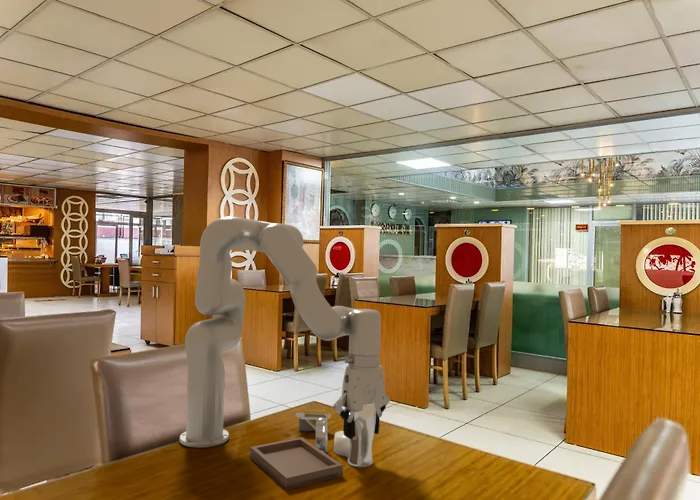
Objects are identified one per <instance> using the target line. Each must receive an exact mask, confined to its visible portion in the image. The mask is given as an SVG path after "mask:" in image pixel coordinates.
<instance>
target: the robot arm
mask: <svg viewBox="0 0 700 500" xmlns="http://www.w3.org/2000/svg"><path fill="white" fill-rule="evenodd" d="M303 246H304V237H303V234H302V233H301V230H299V229H298V228H297V227H295V226H294V225H291V224H285V223H281V222H280V223H277V222H276V223H274V222H268V221H262V220H255V219H249V218H243V217H240V216H223V217H220V218H217V219H215V220H213V221H212V222H210V223H209V224H208V225H207V226H206V227H205V228H204V230H203V232H202V234H201V238H200V242H199V259H198V270H197V276H196V277H197V278H196V285H195V294H194V303H195V308H196V310H197V311H198V312H199V313H200V314H202V315H206V316H212V318H208V319H204V320H199V321H198V322H194V324H192V325H191V326H190V327H189V328H188V330H187V332H186V334H185V337H184V346H185V347H184V348H185V353H186V354H185V355H186V361H187V378H186V379H187V387H186V388H187V390H186V395H187V396H186V416H185V417H186V418H185V419H186V420H185V422H186V423H185V424H186V425H185V431H184V432H182V433H181V434H180V435H179V443H180V444H181V445H183V446H185V447H189V448H196V449H197V448H202V449H203V448H211V447H215V446H219V445H222V444H224V443H226V442H227V441H228V440H229V438H230V437H229V436H230V433H229V431H228V430H226V429H224V418H225V417H224V415H225V414H224V411H225V384H226V383H225V377H226V376H225V374H226V373H225V371H226V370H225V365H224V359H223V357H222V353H224V352H226V351H230V350H232V349H233V348H235V347H236V346H237V345H238V344H239V342H240V340H241V337H242V334H243V325H244V318H245V317H244V316H245V309H246V293H245V289H244V287H243V286H242V284H241V283H240V282H239V281H238V280H236V279H233V278H231V275H232V269H233V265H232V264H233V263H232V258H231V257H232V256H231V253H230V252H231V251H234V250H237V251H238V250H239V251H253V252H259V253H264V254H265V255H266V256H267V258H268V259H269V260H270V262H271V264H273V266H274V267H275V269H276V270H277V271H278V273H279V274H280V276H281V277H282V279H283V280H284V282H285V283H286V285H287V286H288V288H289V289H288V290H289V292H290V296H291V299H292V302H293V304H294V307H295V309H296V311H297V313H298V314H299V316H300V318H301V319H302V320H303V322H304V323H305V325H307V327H308V328H309V330H310V331H311V333H313V334H314V336H316V337H317V339H318V338H319V339H320V340H322V341H325V342H326V341H329V342H330V341H333V340H336V339H339V338H341V337H344V336H349V337H348V339H349V340H348V357H345V358H344V363H345V364H348V365H346V367H345V370H344V374H343V375H344V376H343V379H342V381H343V383H342V389H341V396H340V397H339V398H338V399H337V401H336V402H335V403H333V409H334V411H335V412H336V413H337V414H338V415H339V417H340V418H341V419H342V420H343V430H342V431H343V432H344V436H346V437H347V438H349V439H353V435H354V422H352V419H353V417H354V412H358V411H361V410H363V404H369V403H373V402H375V408H376V425H375V431H374V435H378V434H379V433H380V432H379V431H380V418H382V416H383V412H384V411H385V410H386V407H387V406H388V405H389V403H390V401H391V398H390V396H388V394H386V387H385V386H386V381H385V374H384V368H383V366H382V365H381V364H380V363H381V361H380V358H381V337H382V336H381V335H382V334H381V333H382V332H381V331H382V330H381V329H382V328H381V327H382V315H381V313H380V311H378V310H376V309H371V308H352V307H349V306H344V305H334V306H331V305H330V303H329V302H328V301H327V300H326V298H325V296H324V294H323V293H322V292H321V290H320V287H319V284H318V282H317V275H318V268H317V265H316V264H315V262H314V261H313V260H312V258H311V257H310V255H309V254H308V253H307V252H306V251H305V249H304V248H303ZM343 407H344V409H343ZM349 410H350V412H349ZM348 412H349V415H348Z"/></svg>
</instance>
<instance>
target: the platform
mask: <svg viewBox="0 0 700 500" xmlns="http://www.w3.org/2000/svg"><path fill="white" fill-rule="evenodd" d="M325 411H326V410H325V409H324V408H323V409H320V408H304V411H303V412H296V413H295V417H296V418H297V419H298V421H299V422H298V431H307V432H316V421H317V420H318V419H319V418H325V419H326V420H327V421H328V419H330V418H331V417H332V414H331V413H325Z"/></svg>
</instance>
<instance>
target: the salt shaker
mask: <svg viewBox="0 0 700 500" xmlns="http://www.w3.org/2000/svg"><path fill="white" fill-rule="evenodd" d="M328 425H329V423H328V419H327V420H326V419H325V418H319V419H318V420H317V421H316V431H315V441H314V442H315V443H314V446H315V447H317V448H318V449H320V450H321V451H323V452H324V453H326V454H327V453H328V431H329V430H328Z"/></svg>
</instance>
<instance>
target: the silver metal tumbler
mask: <svg viewBox="0 0 700 500" xmlns="http://www.w3.org/2000/svg"><path fill="white" fill-rule="evenodd" d="M349 412H350V410H349ZM349 412H348V415H349ZM352 422H354V435H353V439H349V441H350V451H349V456H348V457H347V464H348V465H350V466H352V467H355V468H367V467H370V466H372V465H373V464H374V459H373V452H372V451H373V450H372V448H373V442H374V435H375V433H374V431H375V425H376V408H375V402H373V403H369V404H363V410H361V411H358V412H354V417H353V419H352Z"/></svg>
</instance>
